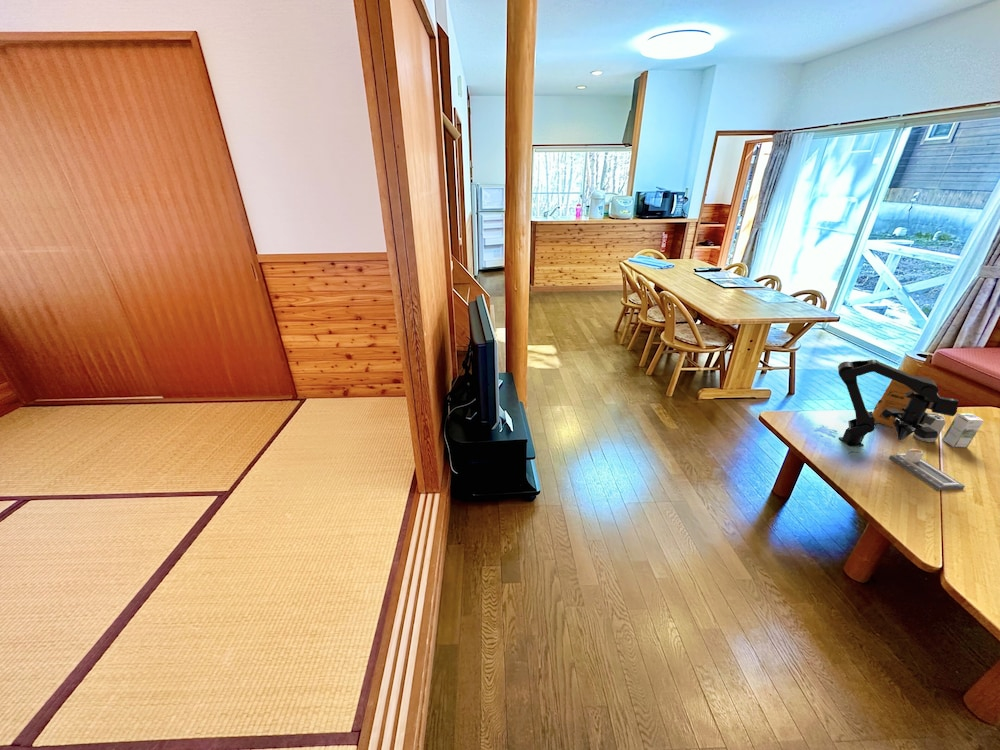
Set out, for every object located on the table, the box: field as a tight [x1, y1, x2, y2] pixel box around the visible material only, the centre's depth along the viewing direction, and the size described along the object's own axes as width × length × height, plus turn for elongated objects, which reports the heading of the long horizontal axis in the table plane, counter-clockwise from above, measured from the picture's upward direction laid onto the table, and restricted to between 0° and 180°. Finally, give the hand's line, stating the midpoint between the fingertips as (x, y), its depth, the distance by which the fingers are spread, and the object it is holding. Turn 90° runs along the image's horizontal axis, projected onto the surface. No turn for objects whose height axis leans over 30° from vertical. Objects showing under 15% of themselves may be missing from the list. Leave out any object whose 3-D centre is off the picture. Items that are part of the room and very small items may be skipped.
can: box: [912, 412, 946, 443], centre depth 178 cm, size 8×8×12 cm
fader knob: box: [904, 448, 924, 463], centre depth 164 cm, size 4×3×5 cm
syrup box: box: [942, 412, 985, 448], centre depth 173 cm, size 6×6×14 cm
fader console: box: [888, 452, 966, 491], centre depth 159 cm, size 10×20×2 cm, turn 2°
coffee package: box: [872, 379, 918, 429], centre depth 188 cm, size 10×12×22 cm
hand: (900, 439), depth 169 cm, fingers closed
